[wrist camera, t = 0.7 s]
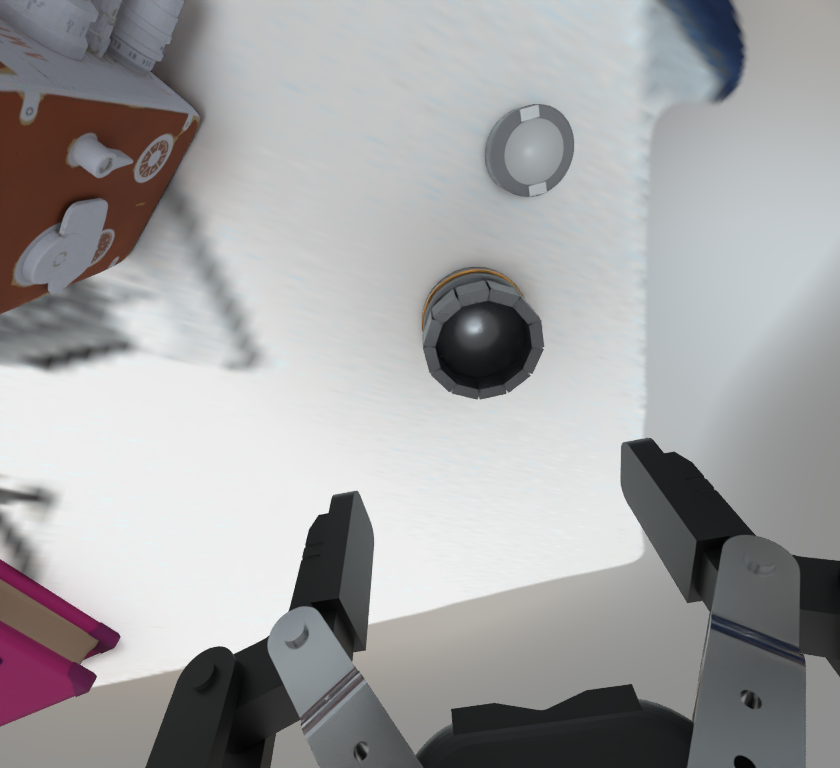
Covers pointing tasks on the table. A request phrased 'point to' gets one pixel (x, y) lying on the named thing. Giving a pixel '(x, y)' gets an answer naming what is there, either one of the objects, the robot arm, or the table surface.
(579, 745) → the robot arm
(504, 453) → the table surface
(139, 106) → the cine camera
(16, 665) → the book
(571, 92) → the table surface
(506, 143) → the lens cap
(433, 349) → the lens barrel
